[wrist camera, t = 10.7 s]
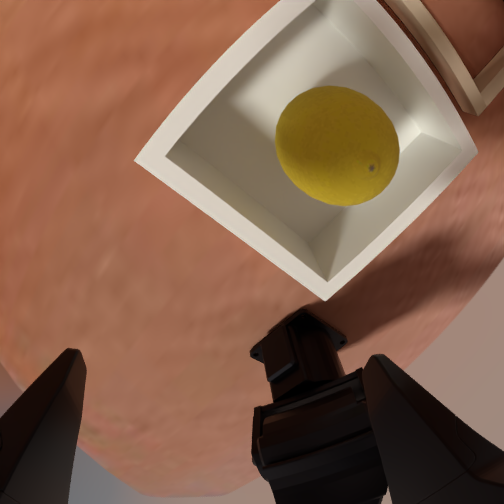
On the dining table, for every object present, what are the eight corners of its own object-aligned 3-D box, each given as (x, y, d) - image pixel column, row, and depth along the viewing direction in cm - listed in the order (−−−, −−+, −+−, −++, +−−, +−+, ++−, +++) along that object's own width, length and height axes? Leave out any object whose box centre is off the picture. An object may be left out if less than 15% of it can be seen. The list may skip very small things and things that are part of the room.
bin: (432, 131, 19) (478, 152, 15) (305, 256, 23) (325, 301, 19) (304, -18, 13) (334, -42, 9) (152, 138, 18) (133, 160, 13)
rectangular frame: (529, 35, 14) (543, 37, 13) (462, 111, 18) (478, 116, 17) (447, -87, 9) (461, -92, 7) (355, -30, 13) (367, -37, 11)
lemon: (330, 184, 20) (389, 251, 13) (248, 152, 18) (272, 208, 11) (369, 107, 17) (451, 138, 11) (287, 66, 16) (339, 64, 9)
